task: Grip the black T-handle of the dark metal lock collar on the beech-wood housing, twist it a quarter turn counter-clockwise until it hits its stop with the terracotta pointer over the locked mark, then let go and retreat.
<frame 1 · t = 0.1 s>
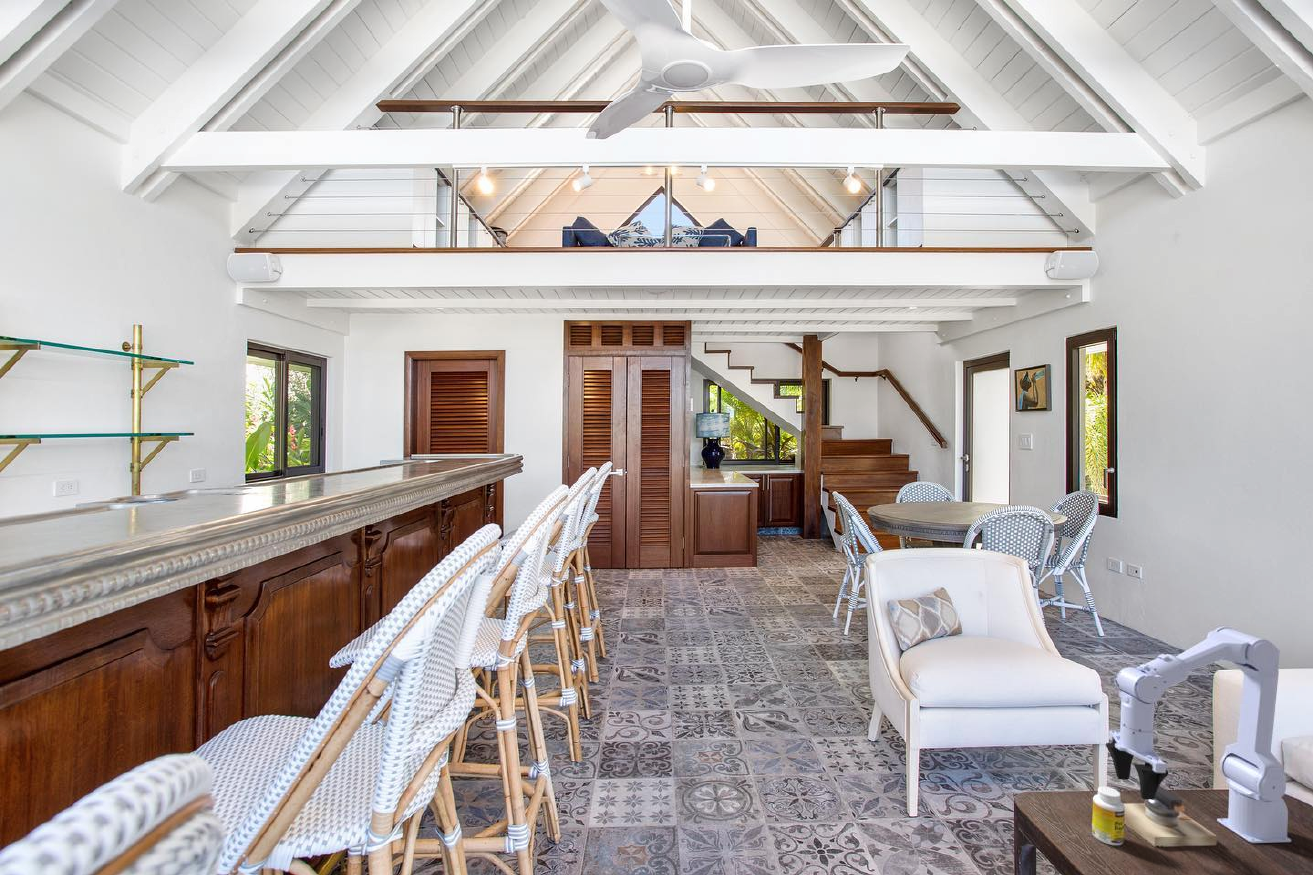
hand: (1134, 788, 138), 10 cm above the table, tool pointing down, fingers open, 7 cm apart
supplement bottle: (1107, 839, 137), on the table
lock collar: (1164, 801, 140), point 6 cm above the table, hinge at 0.0°
lock housing: (1161, 828, 141), on the table
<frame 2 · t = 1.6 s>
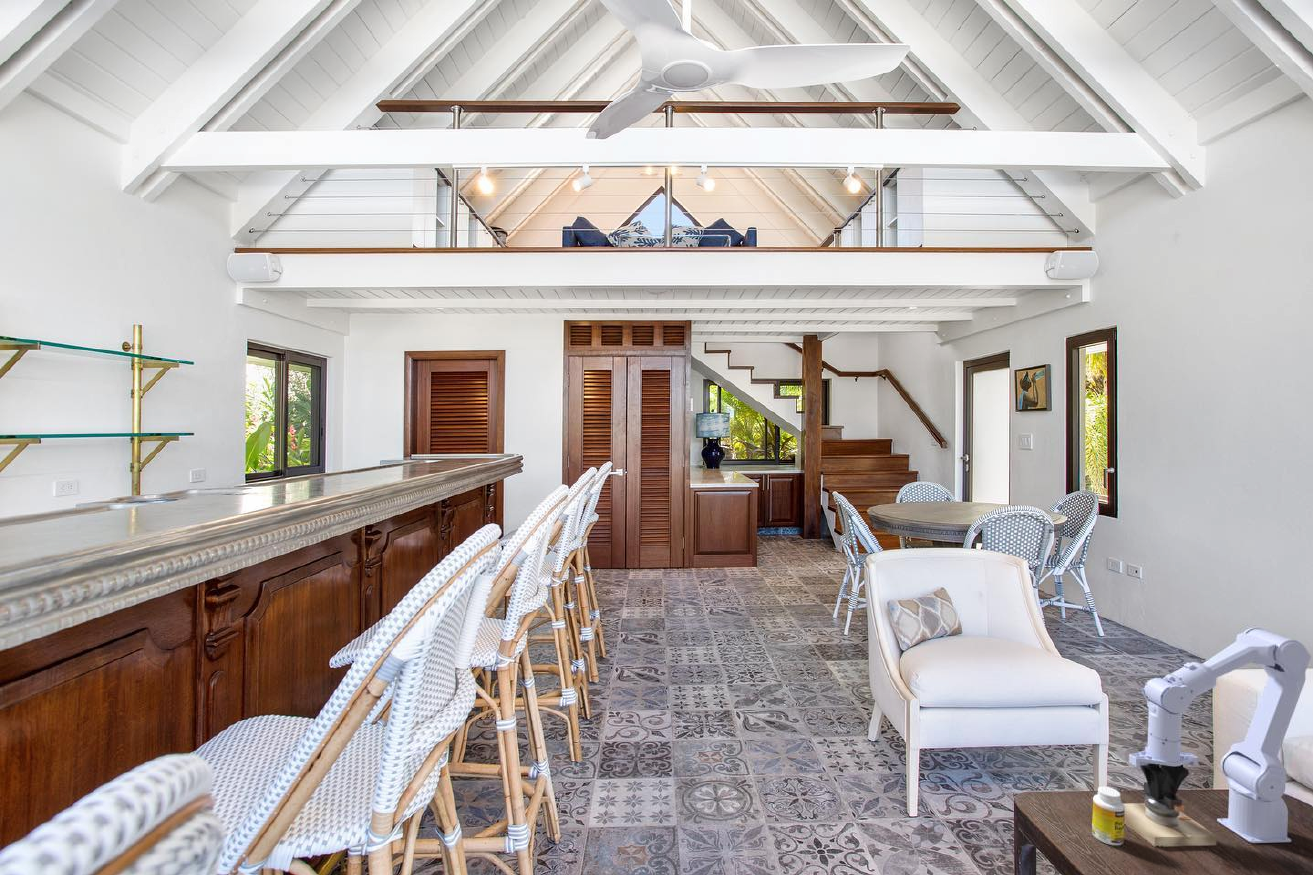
hand: (1162, 797, 141), 7 cm above the table, tool pointing down, fingers closed on lock collar, 2 cm apart
lock collar: (1164, 801, 140), point 6 cm above the table, hinge at 0.0°, touching gripper
everything else where it was.
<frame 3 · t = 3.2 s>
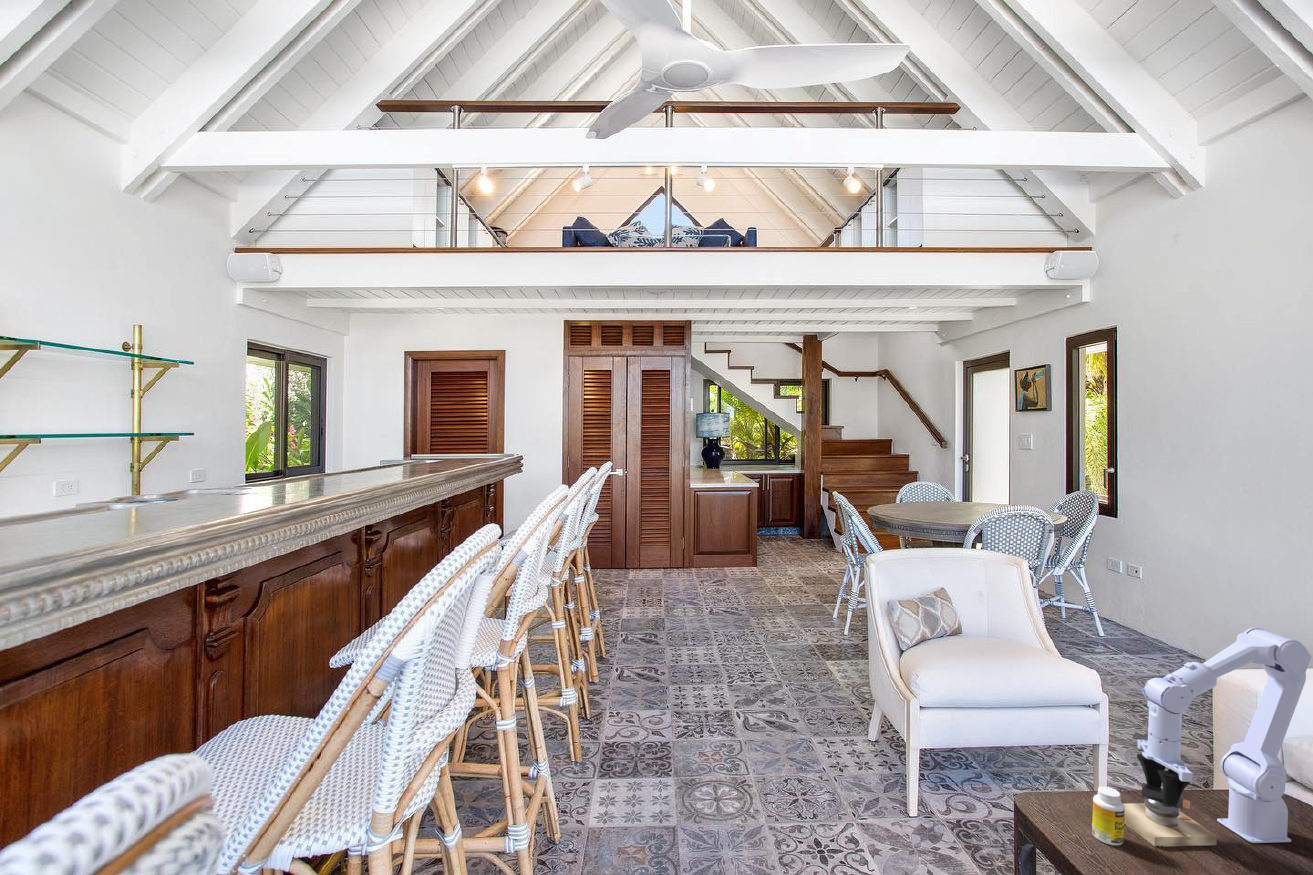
hand: (1162, 796, 141), 7 cm above the table, tool pointing down, fingers closed on lock collar, 5 cm apart
lock collar: (1165, 800, 141), point 6 cm above the table, hinge at 45.7°, touching gripper
everything else where it was.
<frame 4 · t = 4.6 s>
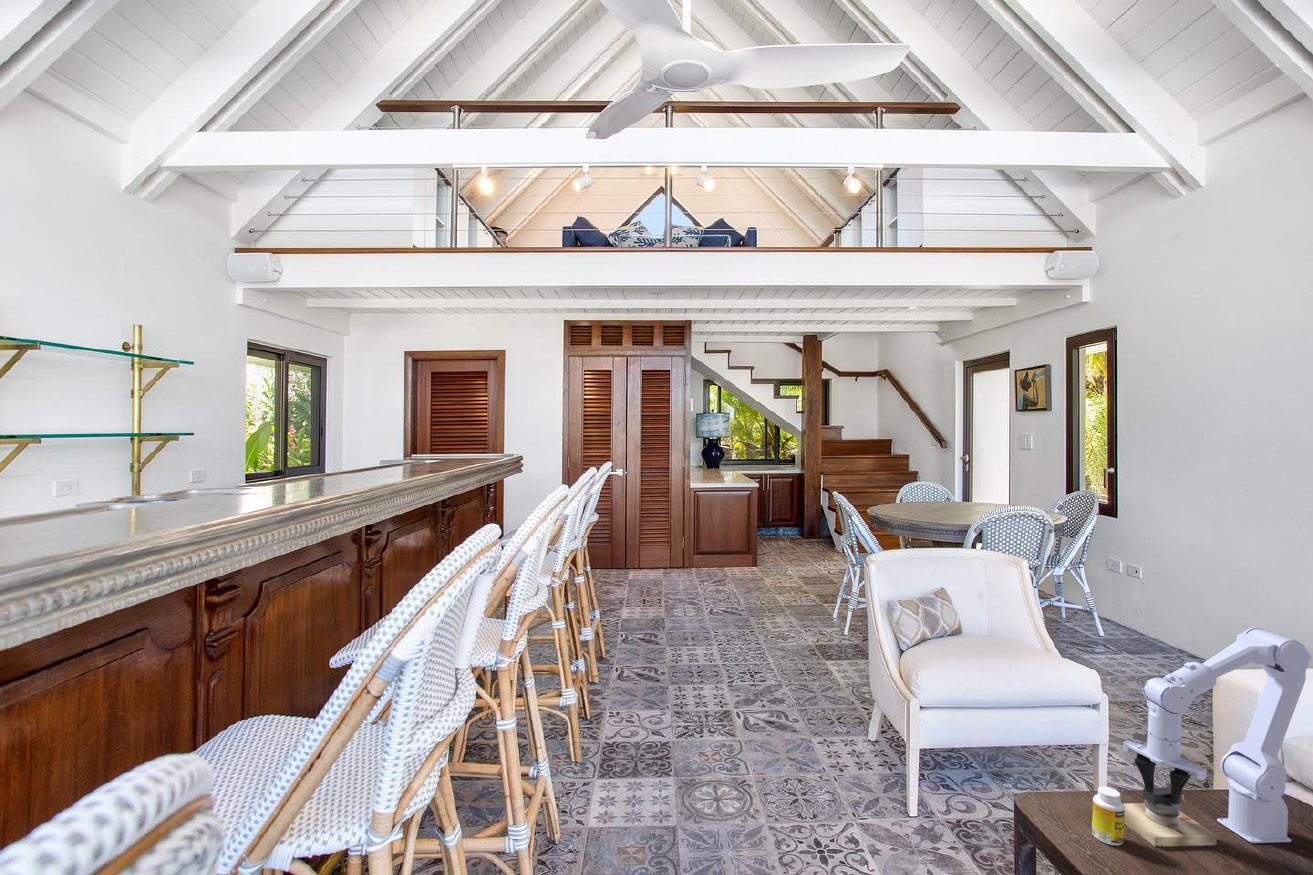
hand: (1161, 796, 141), 7 cm above the table, tool pointing down, fingers closed on lock collar, 4 cm apart
lock collar: (1164, 799, 141), point 6 cm above the table, hinge at 93.6°, touching gripper
everything else where it was.
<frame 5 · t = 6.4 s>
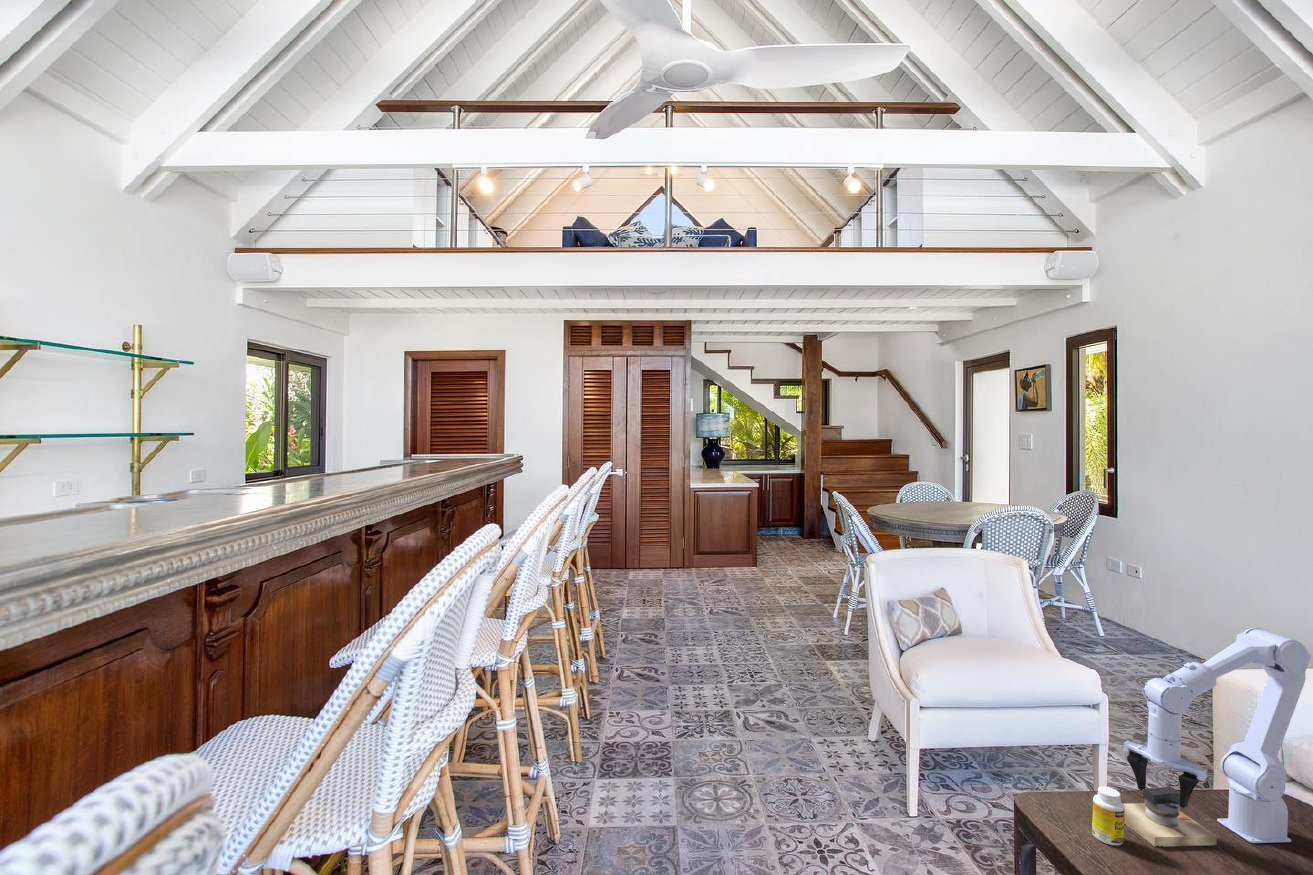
hand: (1162, 797, 141), 7 cm above the table, tool pointing down, fingers open, 7 cm apart
lock collar: (1164, 799, 141), point 6 cm above the table, hinge at 94.8°
everything else where it was.
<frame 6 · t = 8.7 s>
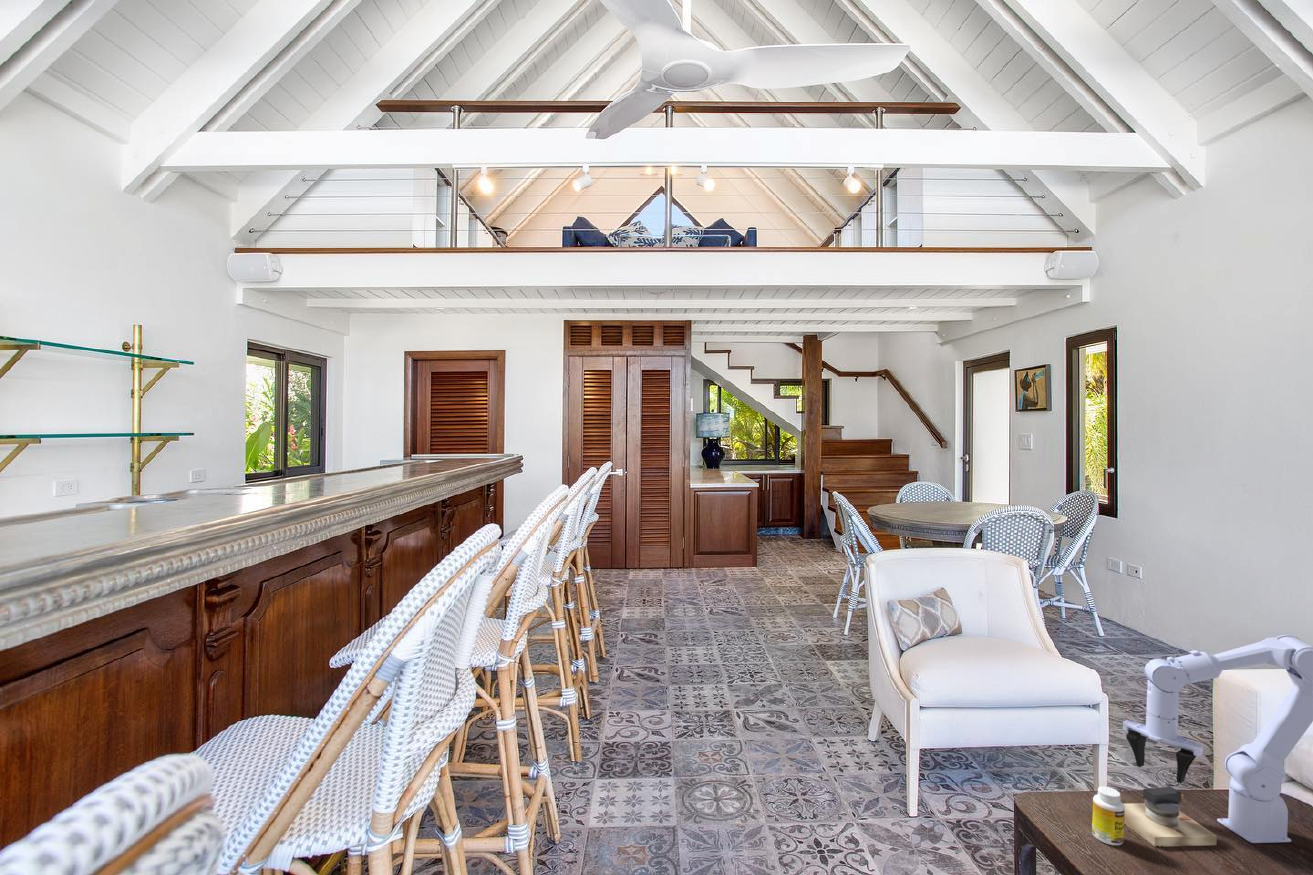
hand: (1160, 773, 146), 9 cm above the table, tool pointing down, fingers open, 7 cm apart
nothing on the table moved.
at the end: lock collar at +95° (first picture: +0°); the gripper is holding nothing; supplement bottle moved 0.2 cm from its start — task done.
